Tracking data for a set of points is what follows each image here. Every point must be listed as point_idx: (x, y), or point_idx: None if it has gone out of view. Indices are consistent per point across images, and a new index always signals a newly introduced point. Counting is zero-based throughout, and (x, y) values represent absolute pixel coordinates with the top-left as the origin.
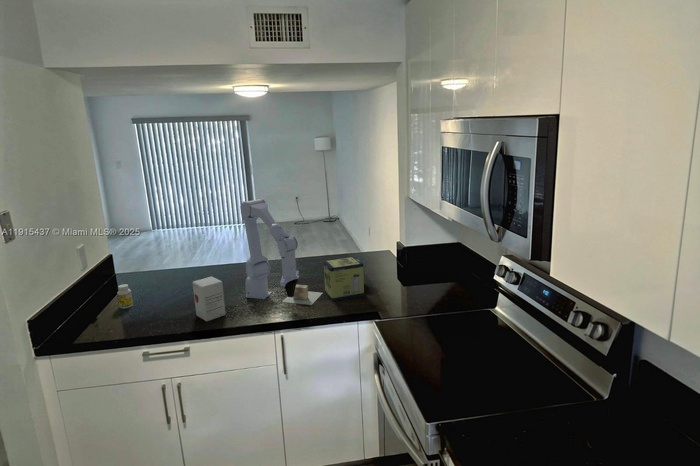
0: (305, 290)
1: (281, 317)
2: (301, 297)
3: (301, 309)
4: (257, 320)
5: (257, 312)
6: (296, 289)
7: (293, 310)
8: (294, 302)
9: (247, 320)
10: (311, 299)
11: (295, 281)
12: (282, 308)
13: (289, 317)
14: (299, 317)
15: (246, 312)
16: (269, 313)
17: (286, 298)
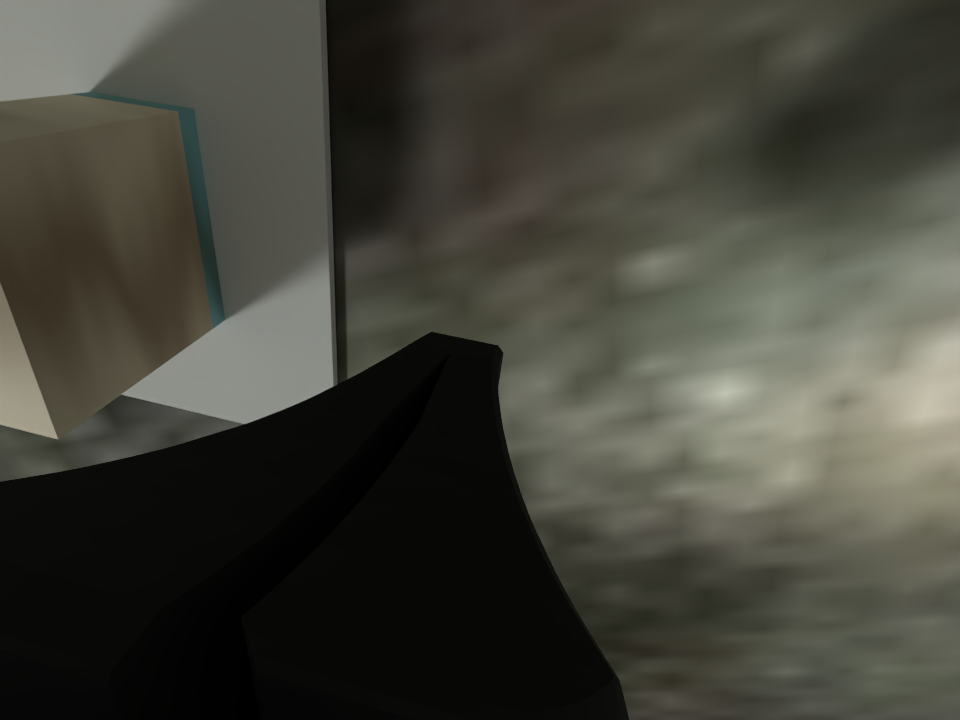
0: (14, 137)
1: (859, 360)
2: (171, 202)
3: (524, 93)
4: (905, 615)
5: (650, 627)
6: (76, 343)
7: (576, 231)
8: (307, 282)
9: (878, 691)
10: (107, 15)
11: (156, 678)
12: (516, 401)
13: (888, 230)
14: (935, 15)
15: (648, 701)
16: (686, 522)
17: (227, 408)
